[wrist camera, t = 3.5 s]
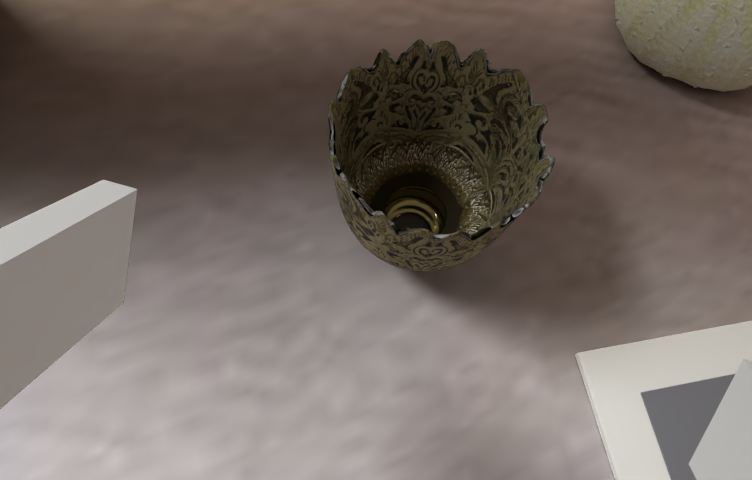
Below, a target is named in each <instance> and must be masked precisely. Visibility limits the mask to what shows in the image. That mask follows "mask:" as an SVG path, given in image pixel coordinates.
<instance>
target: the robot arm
mask: <svg viewBox="0 0 752 480" xmlns="http://www.w3.org/2000/svg"><path fill="white" fill-rule="evenodd" d="M136 197H137V189H135V188H132V187H128V186H125V185H121V184H117V183H114V182H110V181H107V180H101V181H99V182H97V183H95V184H93V185H91V186H89V187H86V188H84V189H82V190H80V191H78V192H76V193H74V194H72V195H70V196H67V197H65V198H63V199H61V200H59V201H57V202H55V203H53V204H51V205H48V206H46V207H44V208H42V209H40V210H38V211H36V212H34V213H32V214H29V215H27V216H25V217H23V218H21V219H19V220H17V221H15V222H13V223H10V224H8V225H6V226H4V227H2V228H0V409H1V408H2V407H3V406H4V405H6V404H7V403H8V402H9V401H10V400H11V399H12V398H14V397H15V396H16V395H17V394H18V393H19V392H21V391H22V390H23V389H24V388H25V387H26V386H27V385H29V384H30V383H31V382H32V381H33V380H34V379H36V378H37V377H38V376H39V375H40V374H41V373H43V372H44V371H45V370H46V369H47V368H48V367H49V366H51V365H52V364H53V363H54V362H55V361H56V360H58V359H59V358H60V357H61V356H62V355H63V354H64V353H66V352H67V351H68V350H69V349H70V348H71V347H73V346H74V345H75V344H76V343H77V342H78V341H80V340H81V339H82V338H83V337H84V336H85V335H86V334H88V333H89V332H90V331H91V330H92V329H93V328H95V327H96V326H97V325H98V324H99V323H100V322H101V321H103V320H104V319H105V318H106V317H107V316H108V315H110V314H111V313H112V312H113V311H114V310H115V309H116V308H118V307H119V306H120V305H121V304H122V303H123V302H124V296H125V288H126V280H127V271H128V263H129V255H130V247H131V238H132V230H133V222H134V214H135V205H136ZM689 466H690V468H691V470H692V472H693V474H694V476H695V478H696V480H752V361H749V360H746V359H743V360H742V362H741V364H740V366H739V368H738V370H737V372H736V374H735V376H734V378H733V380H732V381H731V383H730V385H729V387H728V389H727V391H726V393H725V395H724V397H723V399H722V401H721V403H720V405H719V406H718V408H717V410H716V412H715V414H714V416H713V418H712V420H711V422H710V424H709V426H708V428H707V429H706V431H705V433H704V435H703V437H702V439H701V441H700V443H699V445H698V447H697V449H696V451H695V453H694V454H693V456H692V458H691V460H690V462H689Z"/></svg>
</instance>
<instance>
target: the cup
mask: <svg viewBox="0 0 752 480" xmlns="http://www.w3.org/2000/svg"><path fill="white" fill-rule="evenodd" d="M488 62H489V59H488V57H487V54H486V53H485V52H484V50H483V49H477V50H476V51H475V52H473V53H472V54H471V55H469V57H468V58H467V59H466V60H465V61H464V62H460V59H459V55H458V52H457V50H456V47H455V46H454V45H453V44H452V43H450V42H448V41H440V42H438V43H434V44H433V45H432V47H431V48H430V49H429V47H428V46H426V45H425V43H424V41H422V40H421V39H420V40H418V41H416V42H415V43H414V44H413V45H412V46H411V47H410V48H409V49H408V50H407V51H406V52H404V53H401V55H400V56H399V58H398V61H397V62H394V60H393V58H392V57H391V55H390V54H389V53H388V52H387V51H386V50H385V49H382V50H381V51H380V52H379V54H378V55H377V57H376V59H375V62H374V65H373V66H372V67H371V68H363V67H362V66H361V67H358V68H355V69H351V70H349V71H348V72H347V74H346V75H345V77H344V79H343V81H342V84H341V87H340V90H339V91H338V93H337V96H336V100H334V99H332V101H331V102H330V105H329V110H328V120H329V128H330V140H329V149H330V160H331V162H332V168H333V174H334V180H335V185H336V191H337V195H338V199H339V202H340V206H341V209H342V212H343V214H344V217H345V219H346V221H347V223H348V225H349V227H350V229H351V230H352V232H353V233H354V235H355V236H356V238H357V239H358V240H359V241H360V242H361V244H362V245H363V246H364V247H365V248H366V249H368V250H369V251H370V252H371V253H372V254H374V255H375V256H377V257H378V258H380V259H382V260H383V261H385V262H387V263H389V264H392V265H394V266H397V267H400V268H403V269H408V270H414V271H436V270H442V269H447V268H450V267H453V266H456V265H458V264H461V263H463V262H465V261H467V260H469V259H470V258H472V257H474V256H475V255H477V254H478V253H480V252H481V251H482V250H483V249H485V248H486V247H487V246H488V245H490V244H491V243H492V242H493V241H494V240H495V239H496V238H497V237H498V236H499V235H500V234H501V233H502V232H503V231H504V230H505V229H506V228H507V227H508V226H509V225H510V224H511V223H512V222H513V221H514V220H515V219H516V218H517V217H518V216H519V215H520V214H521V213H522V212H524V211H525V210H526V209H527V208H528V207H529V206H530V205H532V204H533V203H534V202H535V200H536V199H537V198H538V196H539V195H540V193H541V190H542V185H543V182H544V181H545V180H546V178H547V177H548V176H549V174H550V172H551V170H552V168H553V166H554V162H555V159H554V157H552V156H550V155H549V154H548V155H546V157H545V156H544V151H545V144H544V143H543V142H542V138H541V133H542V131H543V128H544V126H545V124H546V123H547V122H548V115H547V110H546V107H545V105H543V104H536V105H533V100H532V91H531V89H530V86H529V84H528V82H527V81H526V79H525V77H524V76H523V74H522V73H521V72H520V71H519V70H517V69H501V70H494V69H490V70H489V69H488ZM460 63H461V64H463V63H464V64H463V65H461V64H460ZM489 63H490V62H489ZM489 68H490V67H489ZM407 213H411V214H416V215H419V216H420V217H422V218H423V219H424V220H425V221H426V222H427V224H428V227H429V230H427V229H424V228H416V229H411V228H404V229H398V227H397V226H396V224H395V223H394V221H395V219H396V218H397V217H399V216H400V215H403V214H407Z"/></svg>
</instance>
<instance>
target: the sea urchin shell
mask: <svg viewBox="0 0 752 480" xmlns="http://www.w3.org/2000/svg"><path fill="white" fill-rule="evenodd" d="M614 1H615V4H614V5H615V12H616V15H615V20H617V22H616V26H617V27H618V28H619V29H618V30H619V31H620V33H621V35H622V37H623V40H624V42H625V44H626V46H627V49H628V51H630V52H631V53H632V54H633V55H634V56H635V57H636V58H637V59H638V61H639V62H641V63H643V64H644V65H646V66H649V67H651V68H653V69H655V70H656V71H657V72H659V73H661V74H662V75H663V76H666V77H672V78H675V79H678V80H681V81H683V82H685V83H687V84H689V85H691V86H693V87H694V88H695V87H701V88H706V89H712V90H717V91H723V92H725V91H730V90H739V89H743V88H748V87H749V86H752V0H614Z"/></svg>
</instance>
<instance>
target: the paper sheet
mask: <svg viewBox="0 0 752 480" xmlns="http://www.w3.org/2000/svg"><path fill="white" fill-rule="evenodd" d="M575 356H576V359H577V362H578V365H579V369H580V372H581V375H582V378H583V381H584V384H585V387H586V390H587V394H588V397H589V400H590V403H591V406H592V409H593V412H594V415H595V418H596V422H597V425H598V428H599V431H600V434H601V437H602V440H603V443H604V447H605V450H606V453H607V456H608V459H609V462H610V465H611V468H612V471H613V475H614V478H615V480H696V478H695V476H694V474H693V472H692V470H691V468H690V466H689V462H690V460H691V458H692V456H693V454H694V453H695V451H696V449H697V447H698V445H699V443H700V441H701V439H702V437H703V435H704V433H705V431H706V429H707V428H708V426H709V424H710V422H711V420H712V418H713V416H714V414H715V412H716V410H717V408H718V406H719V405H720V403H721V401H722V399H723V397H724V395H725V393H726V391H727V389H728V387H729V385H730V383H731V381H732V380H733V378H734V376H735V374H736V372H737V370H738V368H739V366H740V364H741V362H742V360H743V359H746V360H749V361H752V320H751V321H746V322H740V323H735V324H730V325H724V326H719V327H713V328H708V329H702V330H697V331H692V332H686V333H681V334H675V335H670V336H665V337H659V338H654V339H648V340H643V341H638V342H632V343H627V344H621V345H616V346H610V347H605V348H600V349H594V350H589V351H583V352H578V353H576V354H575Z"/></svg>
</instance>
